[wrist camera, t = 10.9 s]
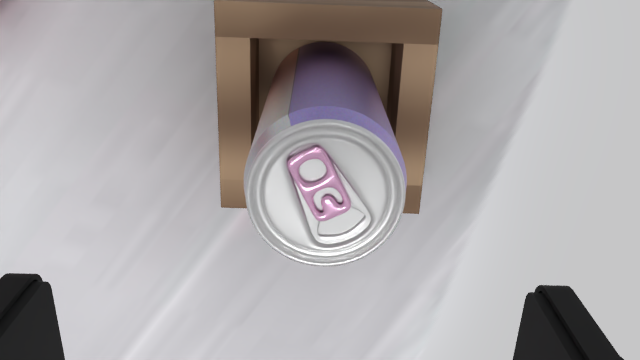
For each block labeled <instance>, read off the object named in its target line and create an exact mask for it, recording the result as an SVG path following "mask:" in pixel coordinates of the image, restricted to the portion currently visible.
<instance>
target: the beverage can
mask: <svg viewBox="0 0 640 360" xmlns="http://www.w3.org/2000/svg"><path fill="white" fill-rule="evenodd" d="M406 187H407V175H406V168H405V163H404V160H403V157H402V154H401V151H400V149H399V146H398V144H397V141H396V138H395V136H394V133H393V130H392V128H391V125H390V123H389V120H388V117H387V115H386V112H385V109H384V107H383V104H382V101H381V99H380V96H379V94H378V91H377V88H376V86H375V83H374V80H373V78H372V75H371V73H370V71H369V69H368V67H367V65H366V64H365V62H364V61H363V60H362V59H361V58H360V57H359V56H358V55H357V54H356V53H355V52H353V51H352V50H350V49H348V48H347V47H344V46H342V45H339V44H336V43H331V42H315V43H310V44H307V45H304V46H302V47H299V48H298V49H296V50H294V51H293V52H291V53H290V54H289V55H288V56H287V57H286V58H285V59H284V60H283V61H282V62H281V64H280V65H279V67H278V68H277V70H276V72H275V75H274V78H273V81H272V84H271V87H270V90H269V93H268V96H267V99H266V102H265V105H264V109H263V112H262V115H261V118H260V121H259V124H258V127H257V130H256V133H255V136H254V140H253V143H252V146H251V149H250V152H249V155H248V158H247V162H246V165H245V170H244V192H245V197H246V205H247V210H248V213H249V216H250V219H251V221H252V223H253V225H254V227H255V229H256V230H257V232H258V233H259V235H260V236H261V237H262V239H263V240H264V241H265V242H266V243H267V244H268V245H269V246H270V247H272V248H273V249H274V250H276V251H277V252H278V253H280V254H282V255H283V256H285V257H287V258H289V259H291V260H294V261H297V262H300V263H303V264H307V265H313V266H337V265H343V264H347V263H351V262H354V261H356V260H359V259H361V258H363V257H365V256H367V255H369V254H370V253H372V252H374V251H375V250H376V249H378V248H379V247H380V246H381V245H382V244H383V243H384V242H385V241H386V240H387V239H388V238H389V237H390V236H391V234H392V233H393V231H394V230H395V228H396V227H397V225H398V223H399V221H400V218H401V216H402V212H403V209H404V204H405V194H406Z"/></svg>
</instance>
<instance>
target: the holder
mask: <svg viewBox="0 0 640 360" xmlns="http://www.w3.org/2000/svg"><path fill="white" fill-rule="evenodd" d="M214 16H215V45H216V74H217V103H218V131H219V160H220V189H221V207H224V208H247V205H246V197H245V192H244V170H245V165H246V162H247V158H248V155H249V152H250V149H251V146H252V143H253V140H254V136H255V133H256V130H257V127H258V124H259V121H260V118H261V115H262V112H263V109H264V105H265V102H266V99H267V96H268V93H269V90H270V87H271V84H272V81H273V78H274V75H275V72H276V70H277V68H278V67H279V65H280V64H281V62H282V61H283V60H284V59H285V58H286V57H287V56H288V55H289V54H290V53H291V52H293V51H294V50H296V49H298V48H299V47H302V46H304V45H307V44H310V43H315V42H331V43H336V44H339V45H342V46H344V47H347V48H348V49H350V50H352V51H353V52H355V53H356V54H357V55H358V56H359V57H360V58H361V59H362V60H363V61H364V62H365V64H366V65H367V67H368V69H369V71H370V73H371V75H372V78H373V80H374V83H375V86H376V88H377V91H378V94H379V96H380V99H381V101H382V104H383V107H384V109H385V112H386V115H387V117H388V120H389V123H390V125H391V128H392V130H393V133H394V136H395V138H396V141H397V144H398V146H399V149H400V151H401V154H402V157H403V160H404V163H405V168H406V175H407V187H406V194H405V204H404V209H403V212H402V213H414V214H419V209H420V200H421V191H422V182H423V174H424V165H425V156H426V148H427V139H428V130H429V121H430V113H431V104H432V95H433V87H434V78H435V69H436V60H437V52H438V43H439V34H440V26H441V17H442V9H441V8H440V7H438V6H436V5H434V4H433V3H431V2H429V1H428V0H214Z"/></svg>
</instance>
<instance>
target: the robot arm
mask: <svg viewBox="0 0 640 360" xmlns="http://www.w3.org/2000/svg"><path fill="white" fill-rule="evenodd" d="M0 360H65V358H64V352H63V347H62V342H61V336H60V331H59V326H58V321H57V315H56V310H55V305H54V299H53V294H52V289H51V285H50V284H49V283H48V282H43V281H42V278H41V277H40V275H38V274H14V273H9V274H5V275H4V276H3V277H1V279H0ZM513 360H624V359H623V358H622V357H620V356H619V355H618V353H617V352H616V351H615V349H614V348H613V346H612V345H611V343H610V342H609V341H608V339H607V338H606V336H605V335H604V333H603V332H602V331H601V329H600V328H599V326H598V325H597V324H596V322H595V321H594V319H593V318H592V316H591V315H590V314H589V312H588V311H587V309H586V308H585V307H584V305H583V304H582V302H581V301H580V300H579V298H578V297H577V295H576V294H575V293H574V291H573V290H572V289H571V288H570V287H569V286H549V285H548V286H547V285H544V286H543V285H539V286H538V287H537V288H536V289H535V292H534V293H533V292H531V293H528V294H527V296H526V299H525V304H524V308H523V313H522V318H521V322H520V327H519V332H518V337H517V342H516V347H515V352H514V356H513Z"/></svg>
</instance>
